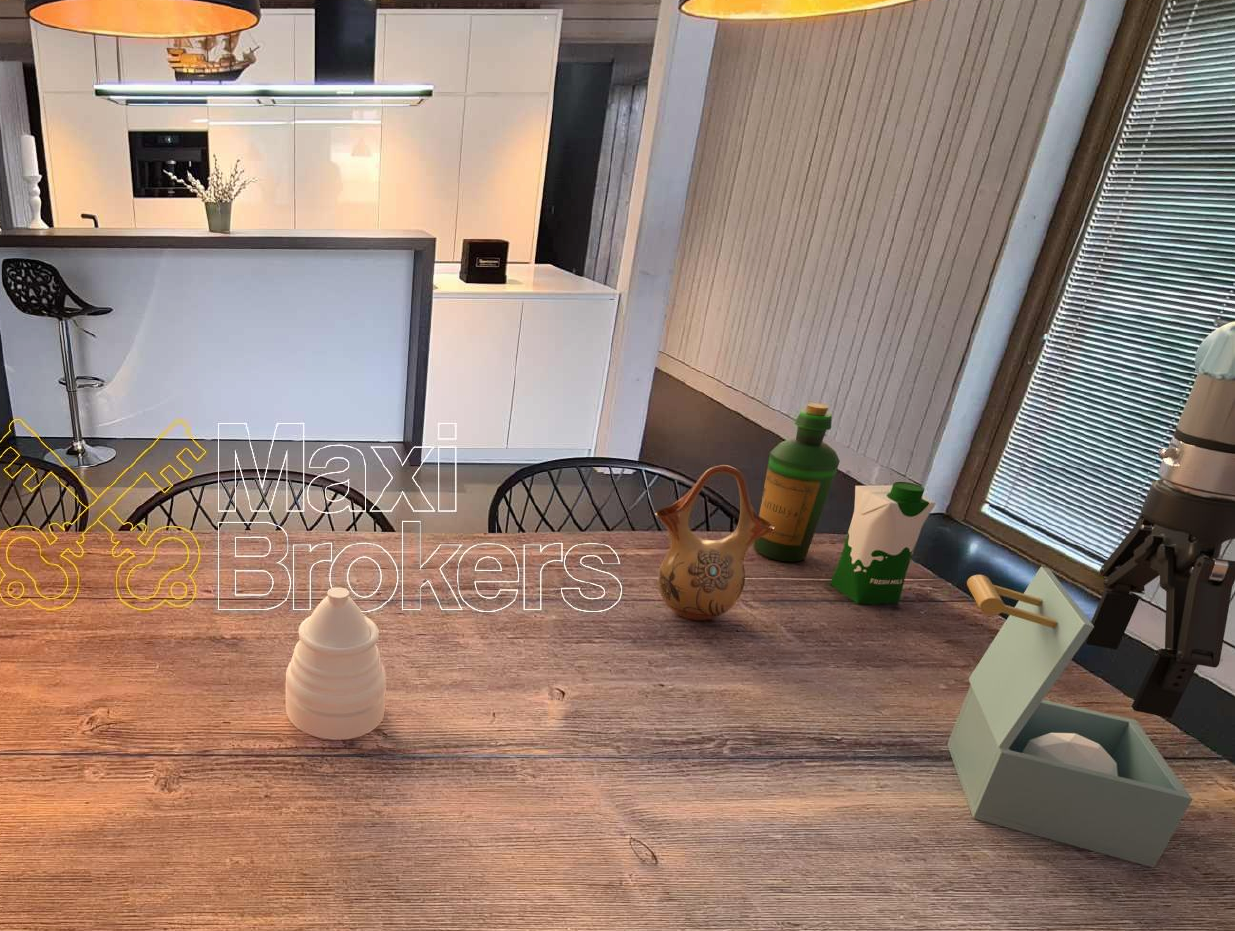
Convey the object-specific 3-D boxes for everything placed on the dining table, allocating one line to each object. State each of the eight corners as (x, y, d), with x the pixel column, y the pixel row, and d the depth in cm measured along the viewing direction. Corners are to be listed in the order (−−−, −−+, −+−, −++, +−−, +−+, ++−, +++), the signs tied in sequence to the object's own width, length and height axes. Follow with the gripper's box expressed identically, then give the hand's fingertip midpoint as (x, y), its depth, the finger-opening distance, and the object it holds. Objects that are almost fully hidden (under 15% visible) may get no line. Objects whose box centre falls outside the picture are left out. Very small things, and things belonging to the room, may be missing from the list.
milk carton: (856, 607, 130) (892, 492, 122) (820, 581, 138) (852, 471, 130) (908, 606, 130) (947, 491, 122) (869, 580, 138) (904, 471, 131)
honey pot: (386, 742, 98) (394, 613, 91) (281, 737, 99) (281, 609, 91) (383, 681, 110) (389, 562, 103) (289, 677, 110) (289, 559, 103)
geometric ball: (1053, 807, 91) (1114, 760, 89) (1089, 833, 84) (1156, 782, 82) (990, 757, 93) (1048, 710, 91) (1020, 778, 86) (1083, 727, 84)
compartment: (1104, 783, 92) (1136, 719, 89) (1154, 868, 81) (1193, 799, 77) (946, 744, 98) (970, 683, 95) (972, 818, 87) (1001, 752, 84)
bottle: (734, 542, 152) (769, 398, 141) (787, 540, 154) (825, 397, 143) (770, 567, 143) (810, 414, 132) (826, 565, 144) (870, 413, 133)
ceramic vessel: (639, 620, 125) (669, 469, 116) (635, 594, 133) (662, 450, 124) (755, 637, 121) (796, 481, 111) (744, 609, 129) (781, 461, 119)
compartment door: (1049, 568, 88) (971, 546, 90) (1094, 626, 76) (1003, 599, 79) (976, 681, 95) (905, 658, 97) (1007, 750, 83) (926, 721, 86)
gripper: (1108, 446, 88) (1041, 615, 96) (1220, 528, 68) (1123, 735, 76) (1200, 455, 85) (1123, 629, 93) (1348, 544, 64) (1232, 758, 73)
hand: (1123, 677), depth 85 cm, fingers open, 13 cm apart
